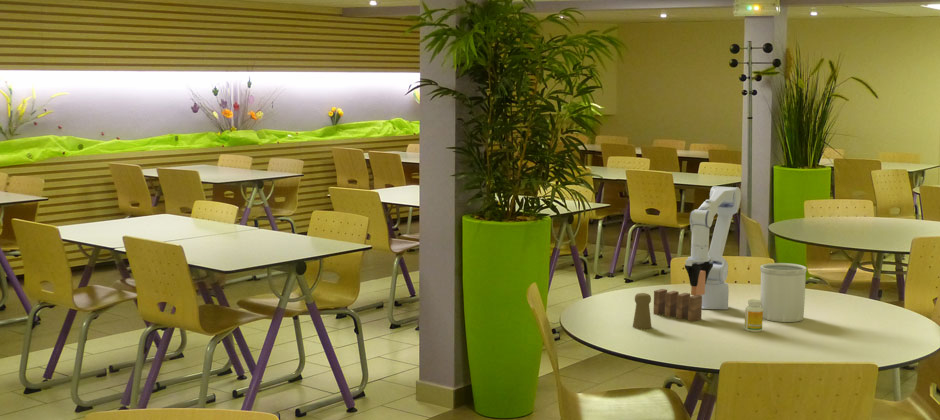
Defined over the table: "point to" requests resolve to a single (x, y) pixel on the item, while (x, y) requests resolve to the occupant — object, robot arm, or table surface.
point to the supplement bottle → (753, 316)
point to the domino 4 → (699, 285)
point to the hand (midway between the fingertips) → (698, 285)
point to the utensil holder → (783, 291)
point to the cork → (642, 311)
